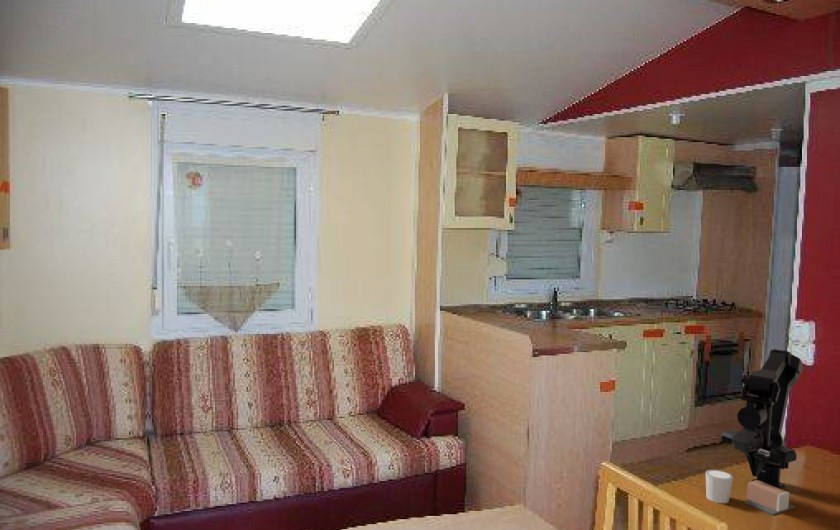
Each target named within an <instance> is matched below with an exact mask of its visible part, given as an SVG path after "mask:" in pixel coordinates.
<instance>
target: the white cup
mask: <svg viewBox="0 0 840 530" xmlns="http://www.w3.org/2000/svg"><path fill="white" fill-rule="evenodd" d="M733 479H734V477H733V475H732V474H731V473H729V472H726V471H724V470H719V469H708V470H706V471H705V490H706V492H705V493H706V498H707V500H708V501H711V502H713V503H718V504H727V503H729V502H730V497H731V491H732V486H733Z"/></svg>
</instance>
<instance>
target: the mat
mask: <svg viewBox="0 0 840 530" xmlns="http://www.w3.org/2000/svg"><path fill="white" fill-rule="evenodd" d="M743 504H744V505H748V506H749V507H752V508H754V509H757V510H758V511H760V512H764V513H766V514H767V515H770V516H776V515H778V514H781V513H784V512H787V511H790V510H794V509H795V508H796V506H794V505H792V504H789V505H788V509H785V510H782V511H779V512H778V511H776V510H773V509H771V508H769V507H766V506H764V505H762V504H759V503H757V502H754V501H752V500H750V499H747V500H745V501H743Z"/></svg>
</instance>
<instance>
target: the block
mask: <svg viewBox="0 0 840 530" xmlns="http://www.w3.org/2000/svg"><path fill="white" fill-rule="evenodd" d="M746 499H747V500H752V501H754V502H757V503H759V504H762V505H764V506H766V507H769V508H771V509H773V510H776V511H778V512H779V511H782V510H785V509H788V505H790V504H789V502H790V492H789V491H786V490H784V489H781V488H780V487H779V488H777V487H774V486H772V485H769V484H766V483H764V482H761V481H759V480H755V481H752V480H751V481H749V482H747V488H746Z"/></svg>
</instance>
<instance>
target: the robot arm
mask: <svg viewBox="0 0 840 530" xmlns="http://www.w3.org/2000/svg"><path fill="white" fill-rule="evenodd" d="M803 368H804V363H803V361H802V360H801V358H800V357H798V356H796V355H794V354H792V352H790V351H788V350H783V349H778V348H777V349H775V348H773V349H771V350H770V351H769V354H768V358H767V359H766V361H765V363H764V364H763V366H761V368H760V369H759V370H758V369H757V370H755V371H752V372H751V373H750V374H749V376H748V377H746V379H745V381H744V386H743V389H742V393H741V396H740V401H744V402H745V403H746V404H745V406H744V407H742V408H741V409H739V411H738V412H737V413H736V414H737V415H736V417H737V421H738V423H739V424H740V425H741V426H742V427H743V428H742V430H740V431H739V430H735V429H731V430H726V431H723V432H722V433H721V434H720V442H721V443H723V444H724V443H725V444H727V445H733V449H735V450H739V452H741V453H742V454H744V455H745V457H746V460H747V462H748V465H749V468H750V469H749V470H750V471H751V472H750V473H751V475H752V476H753V477H754V478H753V479H751V482H752V481H755V480H759V481H761V482H764V483H766V484H769V485H772V486H774V487H777V488H779V489H780V488H782V487H785V483H784V482H781V471H782V470H785V469H789V463H792V462H796V461H797V457H798V455H797V452H796V451H795V449H792V448H789V447H787V446H786V442H785V440H784V438H783V435H782V431H783V427H784V422H785V417H786V413H787V412H786V411H787V405H788V401H789V396H790V391H791V388H792V387H793V386H794V385H795V384H796V383H797V382H798V381H799V377H800V375H802V373H803ZM755 477H756V478H755Z"/></svg>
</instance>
